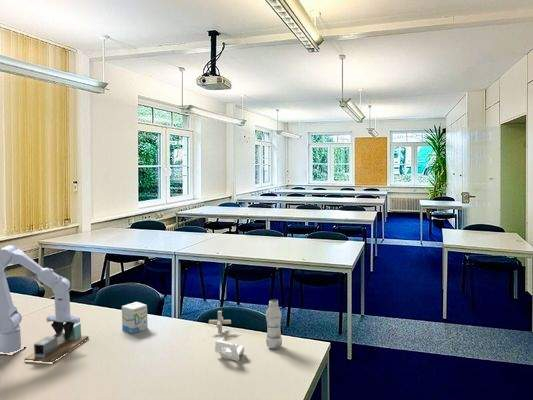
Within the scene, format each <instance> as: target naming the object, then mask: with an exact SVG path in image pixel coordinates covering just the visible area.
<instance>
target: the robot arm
mask: <svg viewBox="0 0 533 400" xmlns="http://www.w3.org/2000/svg"><path fill="white" fill-rule="evenodd" d="M9 264H10V265H21V266H22V267H24V268H26V269H27V270H29V271H30V272H32V273H34V274H35V275H36V277H37V280H39V281H40V282H41V283H43V284H44V285H45V286H47V287H49V288H50V289H51V292H52V293H53V294H54V313H55V315H48V316H46V318H45V319H46V322H47V323H49V322H52V323H51V327H52V329H53V330H54V332H55V334H57V333H58V332H60V331H62V330H63V328H64V331H65V339H66V340H68V339H69V338H70V335H71V331H72V328H73V326H74V324H77V323H81V318H80V317H76V316H73V315H72V314H71V300H70V298H71V297H70V290H69V289H70V287H71V282H70V280H69V279H68V277H63V276H62V275H59V274H58V273H56V272H54V269H52V268H49V267H43V266H41V265H40V264H39V263H38V262H36V261H35V260H33V259H32V258H31V257H29V256H28V255H27V254H26V253H25V252H24V251H23V250H22V249H20V248H17V246H15V245H13V244H8V245H7V244H6V245H5V246H4V247H2V248H0V352H3V353H10V352H14V351H17V350H19V349H21V346H22V336H21V335H22V334H21V326H20V323H21V322H22V320H23V318H22V314H21V313H20V312H19V311H18V308H17V307H16V306H15V305H14V302H13V300H12V295H11V292H10V291H11V290H10V288H9V283H8V280H7V276H6V273H5V269H6V268H7V266H8V265H9Z"/></svg>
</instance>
